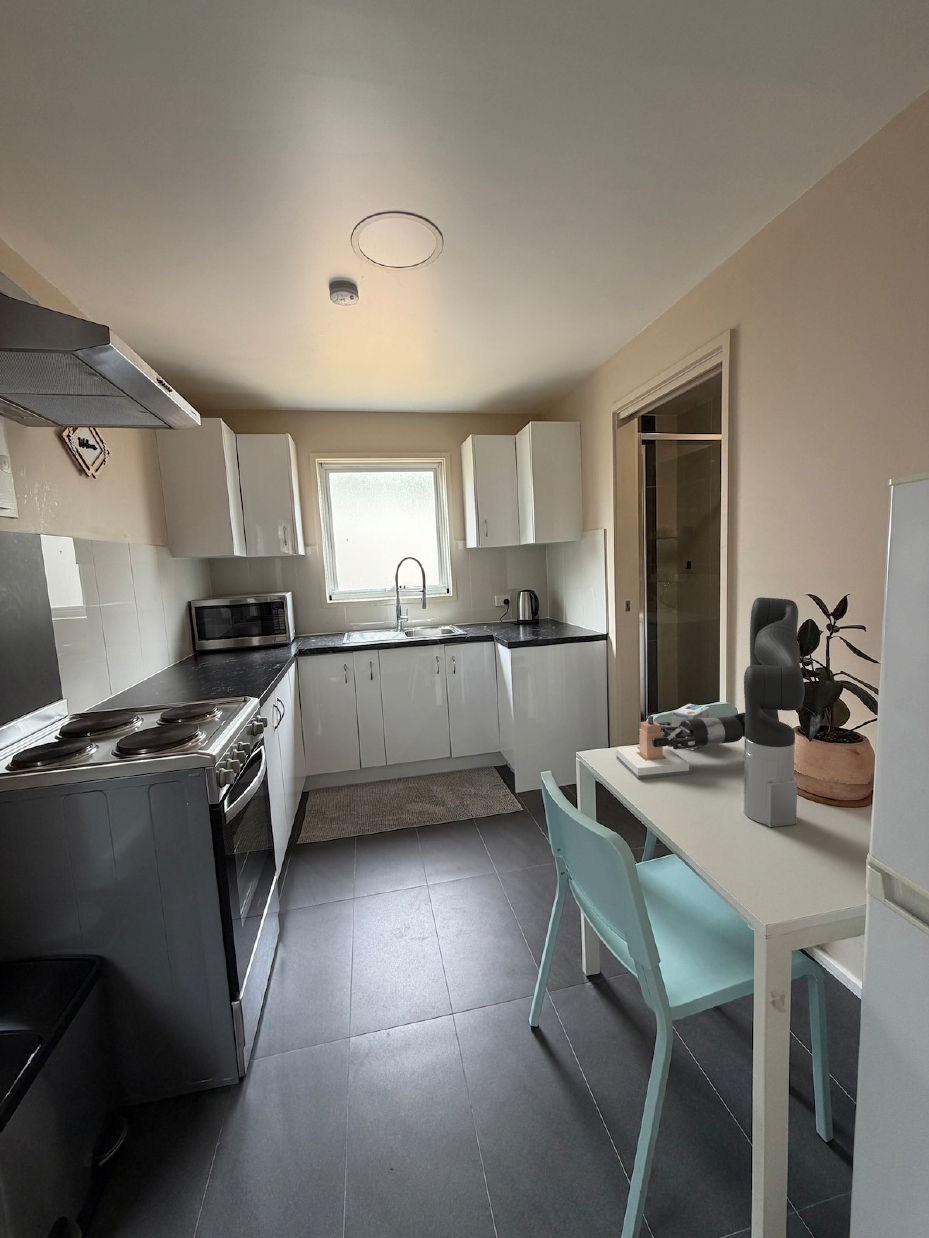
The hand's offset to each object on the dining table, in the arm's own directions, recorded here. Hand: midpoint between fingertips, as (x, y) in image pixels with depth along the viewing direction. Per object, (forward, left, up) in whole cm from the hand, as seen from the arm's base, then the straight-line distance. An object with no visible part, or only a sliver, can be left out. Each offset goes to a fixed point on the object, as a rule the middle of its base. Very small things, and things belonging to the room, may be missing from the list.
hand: (645, 737), depth 138 cm
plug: (0, -2, -7) cm, 7 cm away
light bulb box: (+13, -20, -9) cm, 26 cm away
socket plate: (0, -2, -8) cm, 8 cm away
